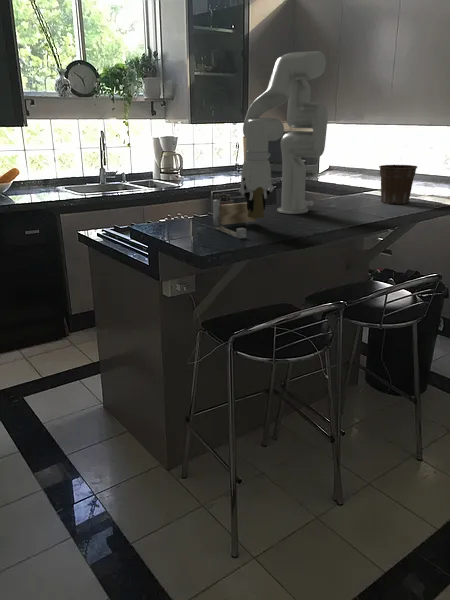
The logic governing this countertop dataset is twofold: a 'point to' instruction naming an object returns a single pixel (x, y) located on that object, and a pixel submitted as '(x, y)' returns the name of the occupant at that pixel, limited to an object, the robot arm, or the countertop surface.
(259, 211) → the cork
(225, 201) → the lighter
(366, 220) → the countertop surface
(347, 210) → the countertop surface
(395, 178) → the plant pot
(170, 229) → the countertop surface
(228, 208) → the door
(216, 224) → the grey l-shaped bracket
